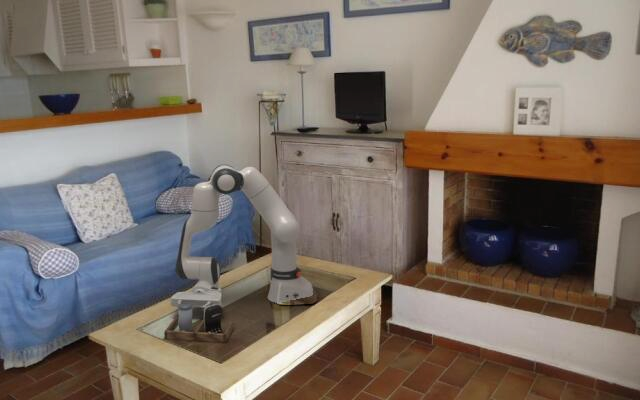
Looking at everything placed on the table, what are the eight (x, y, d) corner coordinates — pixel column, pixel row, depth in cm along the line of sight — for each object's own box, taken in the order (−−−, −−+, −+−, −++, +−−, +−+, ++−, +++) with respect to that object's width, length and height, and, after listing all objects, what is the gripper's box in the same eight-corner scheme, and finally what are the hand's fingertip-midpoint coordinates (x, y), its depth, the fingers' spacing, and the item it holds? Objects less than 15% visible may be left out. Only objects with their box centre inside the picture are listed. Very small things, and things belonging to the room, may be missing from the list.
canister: (194, 329, 209) (194, 302, 207) (190, 335, 204) (190, 308, 202) (181, 328, 210) (180, 302, 207) (176, 335, 204) (175, 307, 202)
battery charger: (208, 339, 202) (208, 310, 200) (203, 335, 205) (202, 307, 202) (224, 333, 207) (224, 305, 204) (218, 330, 209) (218, 302, 207)
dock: (233, 327, 212) (233, 319, 211) (225, 342, 199) (225, 334, 199) (175, 323, 213) (175, 315, 213) (164, 339, 201) (164, 330, 200)
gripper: (176, 286, 225) (165, 299, 212) (224, 288, 224) (216, 301, 211) (176, 300, 226) (165, 314, 213) (225, 302, 225) (217, 316, 212)
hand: (191, 308), depth 212 cm, fingers open, 8 cm apart
